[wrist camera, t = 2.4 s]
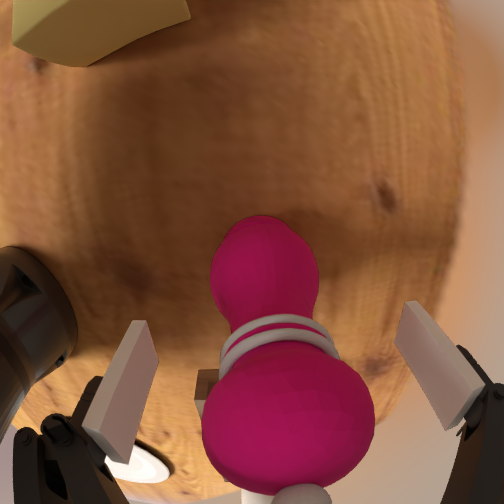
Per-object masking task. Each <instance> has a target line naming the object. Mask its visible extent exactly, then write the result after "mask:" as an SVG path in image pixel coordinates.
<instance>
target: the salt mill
mask: <svg viewBox="0 0 504 504" xmlns="http://www.w3.org/2000/svg"><path fill="white" fill-rule="evenodd" d="M274 497H275V496H268V495H263V494H258V493H253V492H249V491H247V490H245V489H242V488H241V501H242V504H271V502H272V500H273V498H274Z"/></svg>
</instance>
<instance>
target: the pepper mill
mask: <svg viewBox="0 0 504 504" xmlns="http://www.w3.org/2000/svg"><path fill="white" fill-rule="evenodd" d="M210 287H211V292H212V295H213V298H214V300H215V303H216V305H217V307H218V309H219V311H220V312H221V313H222V315H223V316H224V317H225V318H226V319H227V320H228V321H229V324H230V327H231V336H230V337H229V338H228V339H227V340H226V342H225V344H224V345H223V347H222V350H221V354H220V369H219V382H218V383H216V384H215V385H214V386H213V388H212V390H211V392H210V394H209V396H208V398H207V400H206V401H205V403H204V408H203V413H202V419H201V427H202V441H203V445H204V448H205V451H206V454H207V456H208V458H209V460H210V462H211V464H212V465H213V466H214V468H215V469H216V470H217V471H218V472H219V473H220V474H221V475H222V476H223V477H224V478H225V479H226V480H227V481H229V482H231V483H232V484H234V485H235V486H238V487H240V488H242V489H245V490H247V491H249V492H253V493H258V494H263V495H268V496H275V497H274V498H273V500H272V502H271V504H332V501H331V498H330V495H329V494H328V493H327V491H326V490H325V489H323V488H324V487H326V486H329V485H331V484H333V483H335V482H336V481H338V480H340V479H341V478H343V477H345V476H346V475H347V474H348V473H349V472H350V471H352V470H353V469H354V468H355V467H356V466H357V464H358V463H359V462H360V461H361V460H362V458H363V457H364V456H365V454H366V453H367V451H368V449H369V446H370V444H371V441H372V439H373V436H374V427H375V414H374V405H373V401H372V398H371V396H370V393H369V390H368V388H367V386H366V384H365V383H364V381H363V380H362V378H361V376H360V375H359V374H358V373H357V372H356V371H354V370H353V369H352V368H351V367H350V366H348V365H347V364H346V363H345V362H343V361H341V360H340V357H339V354H338V352H337V350H336V348H335V347H334V342H333V339H332V337H331V336H330V334H329V333H328V331H327V330H326V329H325V328H324V327H323V326H322V325H320V324H319V323H318V322H316V321H314V320H313V319H312V312H313V308H314V305H315V301H316V298H317V295H318V288H319V272H318V267H317V263H316V260H315V258H314V255H313V253H312V250H311V249H310V247H309V246H308V244H307V243H306V242H305V241H304V240H303V239H302V238H301V237H300V236H299V235H298V234H296V233H295V232H293V231H292V230H291V229H290V228H289V227H288V226H287V225H286V224H285V223H283V222H282V221H280V220H278V219H276V218H273V217H269V216H252V217H248V218H246V219H243V220H241V221H240V222H238V223H236V224H235V225H234V226H233V227H232V228H231V229H230V230H229V231H228V233H227V234H226V236H225V238H224V240H223V243H222V244H221V245H220V247H219V248H218V249H217V251H216V253H215V255H214V257H213V260H212V264H211V270H210Z"/></svg>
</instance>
